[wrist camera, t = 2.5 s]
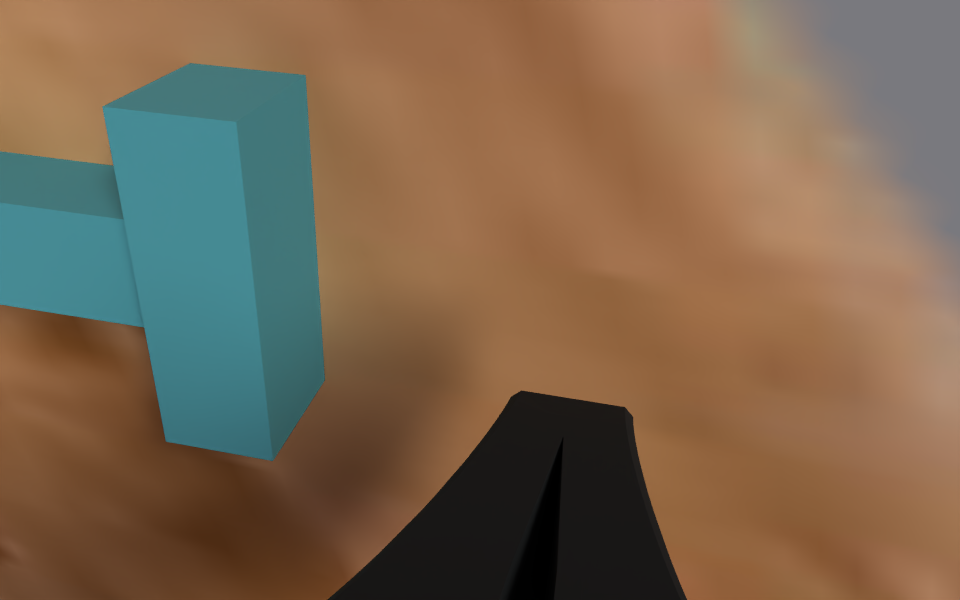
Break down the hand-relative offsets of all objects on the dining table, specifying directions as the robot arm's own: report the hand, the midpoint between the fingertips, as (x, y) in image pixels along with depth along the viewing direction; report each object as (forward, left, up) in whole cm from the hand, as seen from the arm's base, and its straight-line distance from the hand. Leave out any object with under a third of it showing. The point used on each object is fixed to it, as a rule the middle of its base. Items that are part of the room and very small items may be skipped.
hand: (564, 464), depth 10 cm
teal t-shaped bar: (0, +10, -5) cm, 11 cm away
